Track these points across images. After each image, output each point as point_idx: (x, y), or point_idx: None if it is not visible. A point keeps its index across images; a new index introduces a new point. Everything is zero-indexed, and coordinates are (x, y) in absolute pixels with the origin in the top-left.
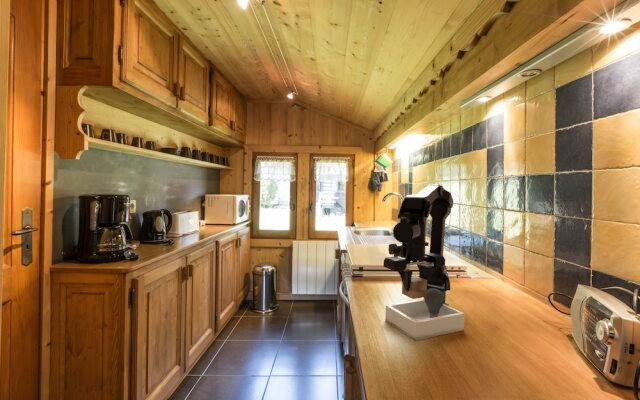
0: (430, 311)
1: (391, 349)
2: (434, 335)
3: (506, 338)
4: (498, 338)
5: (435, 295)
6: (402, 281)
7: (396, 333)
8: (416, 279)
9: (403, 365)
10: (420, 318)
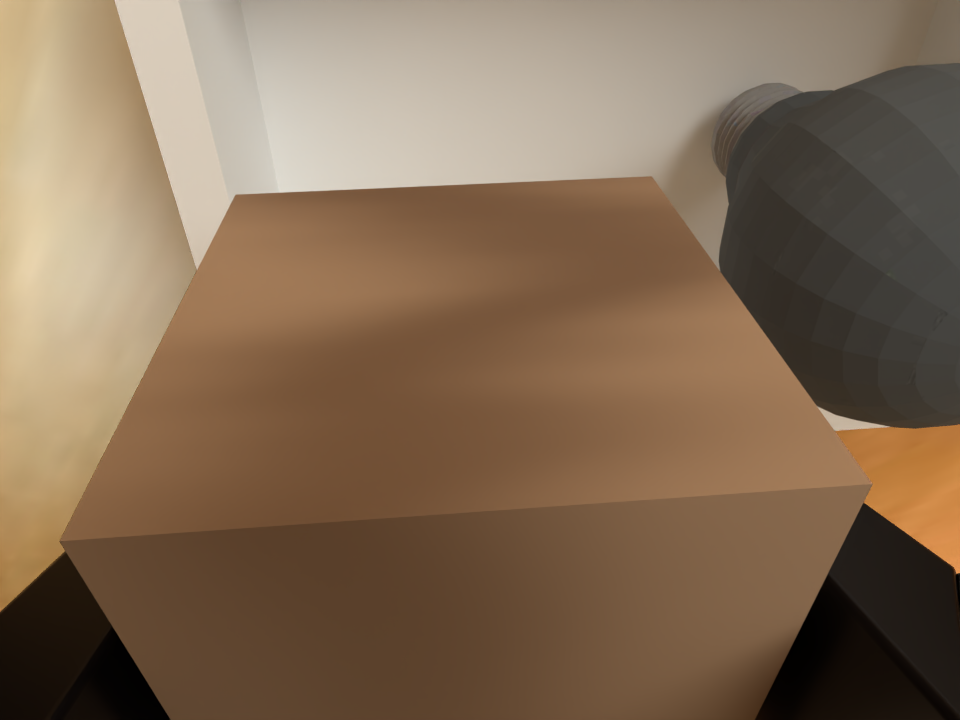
0: (729, 185)
1: (17, 400)
2: None
3: (935, 479)
4: (893, 469)
5: (841, 408)
6: (25, 605)
7: (170, 184)
8: None
9: (48, 546)
10: (656, 3)
